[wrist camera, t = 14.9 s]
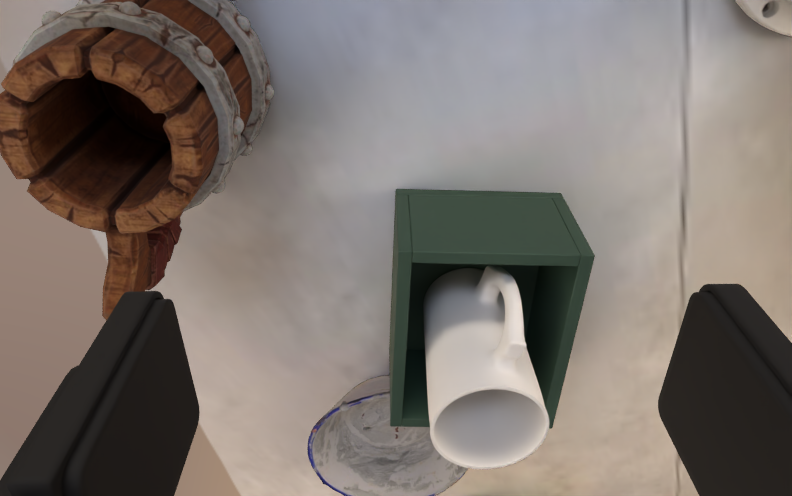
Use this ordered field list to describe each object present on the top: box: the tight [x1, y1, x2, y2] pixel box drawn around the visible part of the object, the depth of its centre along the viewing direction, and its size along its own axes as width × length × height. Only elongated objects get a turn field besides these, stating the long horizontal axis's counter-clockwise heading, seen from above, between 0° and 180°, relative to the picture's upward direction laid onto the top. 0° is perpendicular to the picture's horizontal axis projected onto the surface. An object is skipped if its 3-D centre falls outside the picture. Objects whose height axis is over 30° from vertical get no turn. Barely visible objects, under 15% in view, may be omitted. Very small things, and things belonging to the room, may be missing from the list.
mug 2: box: [423, 265, 549, 470], centre depth 39 cm, size 10×7×12 cm, turn 166°
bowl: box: [308, 376, 468, 496], centre depth 49 cm, size 13×13×5 cm
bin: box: [389, 189, 595, 428], centre depth 41 cm, size 11×14×8 cm
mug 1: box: [0, 0, 274, 320], centre depth 32 cm, size 12×14×15 cm
